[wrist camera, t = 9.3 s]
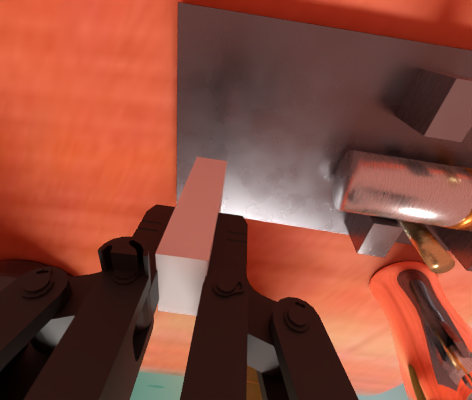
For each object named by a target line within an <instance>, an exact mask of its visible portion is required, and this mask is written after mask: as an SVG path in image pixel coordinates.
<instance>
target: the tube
mask: <svg viewBox="0 0 472 400" xmlns="http://www.w3.org/2000/svg"><path fill="white" fill-rule="evenodd" d="M332 195H333V202H334V205H335V207H336V209H337V210H339V211H346V212H352V213H358V214H365V215H371V216H377V217H384V218H390V219H396V220H403V221H409V222H415V223H422V224H428V225H434V226H439V227H444V228H450V229H457V230H466V231H472V169H471V168H465V167H459V166H449V165H443V164H437V163H431V162H424V161H418V160H412V159H406V158H399V157H393V156H387V155H381V154H374V153H368V152H362V151H356V150H350V151H348V152H347V153H346V154H345V155H344V156H343V157H342V159H341V161H340V163H339V165H338V167H337V170H336V173H335V177H334V181H333V190H332Z"/></svg>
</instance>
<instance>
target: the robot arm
mask: <svg viewBox="0 0 472 400" xmlns="http://www.w3.org/2000/svg"><path fill="white" fill-rule="evenodd" d="M226 167H227V161H223V160H216V159H210V158H203V157H197V158H196V160H195V162H194V165H193V167H192V169H191V172H190V174H189V176H188V179H187V181H186V183H185V186H184V188H183V190H182V193H181V195H180V197H179V200H178V202H177V204H176V207H171V206H163V205H155V206H154V207H152V208H151V209H149V210H148V211H147V212H146V214H145V215H144V217H143V219H142V222H140V224H139V226H138V229H136V231H135V233H134V235H133V236H132V237H120V238H116V239H112V240H110V241H108V242H107V243H105V244H103V245H102V246H101V247H100V248H99V249H98V254H99V258H100V263H101V267H102V271H101V272H99V273H95V274H90V275H82V276H74V277H72V276H70V275H68V274H66V272H65V271H63V270H62V269H60V268H57V267H51V266H50V267H49V266H46V265H43V264H39V263H35V262H30V261H24V260H5V261H0V400H130V397H131V394H132V390H133V388H134V384H135V381H136V378H137V375H138V372H139V369H140V366H141V363H142V360H143V357H144V354H145V351H146V348H147V345H148V342H149V339H150V336H151V333H152V330H153V324H154V313H155V310H156V307H157V304H158V311H163V312H171V313H179V314H187V315H194V316H196V321H195V326H194V331H193V336H192V341H191V346H190V352H189V357H188V362H187V367H186V372H185V377H184V382H183V388H182V392H181V397H180V400H246V396H247V365H248V366H250V367H252V368H254V369H256V373H257V377H258V382H259V386H260V391H261V395H262V400H358V398H357V395H356V393H355V391H354V389H353V387H352V385H351V383H350V380H349V378H348V376H347V374H346V372H345V370H344V368H343V366H342V364H341V361H340V359H339V357H338V355H337V353H336V351H335V349H334V347H333V344H332V342H331V340H330V338H329V336H328V334H327V332H326V330H325V327H324V325H323V323H322V321H321V319H320V317H319V315H318V314H317V312H316V311H315V309H314V308H313V307H312V306H310V305H309V304H308V303H307V302H305V301H303V300H301V299H298V298H292V297H287V298H284V299H281V300H279V301H278V302H276V301H273V300H271V299H269V298H267V297H264V296H263V295H261V294H259V293H258V292H256V291H255V290H254V289H253V288H252V287H251V285H250V284H249V282H248V279H247V275H246V263H247V223H246V221H245V219H244V217H243V216H240V215H233V214H226V213H220V212H221V206H222V198H223V190H224V183H225V175H226Z"/></svg>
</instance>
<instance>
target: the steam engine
mask: <svg viewBox="0 0 472 400" xmlns="http://www.w3.org/2000/svg"><path fill="white" fill-rule="evenodd" d="M350 150H356V151H362V152H368V153H374V154H381V155H387V156H393V157H399V158H406V159H412V160H418V161H424V162H431V163H437V164H443V165H449V166H459V167H465V168H471V169H472V51H471V50H465V49H459V48H453V47H447V46H441V45H435V44H429V43H423V42H417V41H411V40H405V39H399V38H393V37H386V36H380V35H374V34H368V33H362V32H356V31H350V30H344V29H338V28H332V27H326V26H320V25H314V24H308V23H301V22H295V21H289V20H283V19H277V18H271V17H265V16H259V15H253V14H247V13H241V12H235V11H229V10H223V9H216V8H210V7H204V6H198V5H192V4H186V3H180V2H178V67H177V202H178V200H179V197H180V195H181V193H182V190H183V188H184V186H185V183H186V181H187V179H188V176H189V174H190V172H191V169H192V167H193V165H194V162H195V160H196V158H197V157H203V158H210V159H216V160H223V161H227V167H226V175H225V183H224V190H223V198H222V206H221V212H220V213H226V214H233V215H240V216H243V217H244V218H247V219H253V220H259V221H265V222H272V223H278V224H284V225H291V226H297V227H303V228H310V229H316V230H322V231H329V232H335V233H341V234H348V235H350V237H351V240H352V242H353V245H354V247H355V250H356V252H357V253H359V254H365V255H371V256H378V257H384V258H385V256H386V255H387V253H388V252H389V250H390V249H391V247H392V246H393V244H394V243H395V242H398V243H404V244H411V245H413V246H414V247H415V248H416V250H417V251H418V253H419V254H420V256H421V257H422V259H423V260H424V262H425V263H426V265H427V266H428V267H429V269H430V270H431V271H432V272H433V273H444V272H447V271H449V270H451V269H452V268H453V267H454V265H455V262H454V261H453V259H452V258H451V257H450V256H449V254H448V253H447V252H446V251H445V250H449V251H451V252H452V254H453V255H454V256H455V257H456V258H457V260H458V261H459V262H460V263H461V264H462V266H463V267H464V268H465V269H466V270H467V271H472V231H466V230H457V229H450V228H444V227H439V226H434V225H428V224H422V223H415V222H409V221H403V220H396V219H390V218H384V217H377V216H371V215H365V214H358V213H352V212H346V211H339V210H337V209H336V207H335V205H334V202H333V195H332V190H333V181H334V177H335V173H336V170H337V167H338V165H339V163H340V161H341V159H342V157H343V156H344V155H345V154H346V153H347V152H348V151H350Z"/></svg>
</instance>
